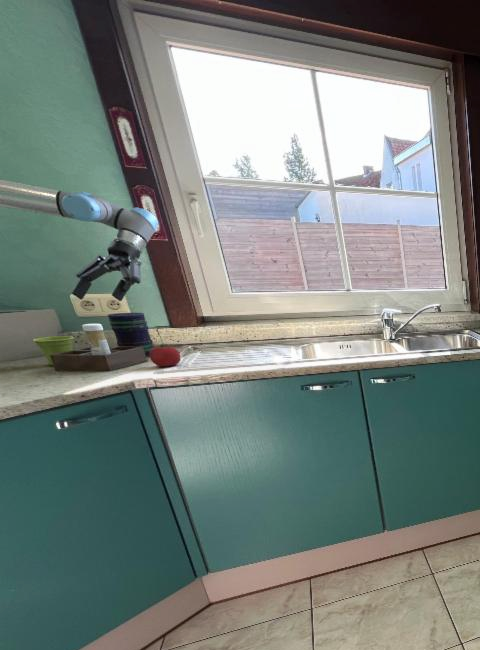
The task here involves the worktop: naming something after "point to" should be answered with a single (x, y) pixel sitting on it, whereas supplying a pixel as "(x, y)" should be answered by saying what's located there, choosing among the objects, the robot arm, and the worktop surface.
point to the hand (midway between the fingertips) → (96, 297)
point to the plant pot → (54, 345)
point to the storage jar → (131, 330)
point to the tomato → (164, 356)
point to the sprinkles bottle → (96, 339)
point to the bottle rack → (98, 359)
